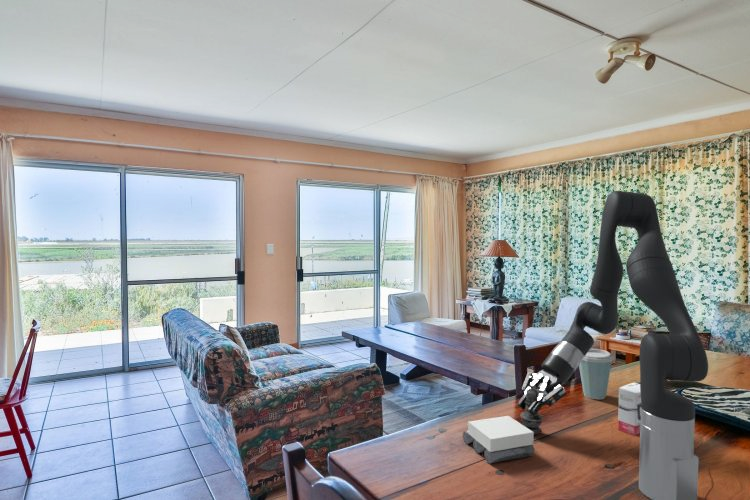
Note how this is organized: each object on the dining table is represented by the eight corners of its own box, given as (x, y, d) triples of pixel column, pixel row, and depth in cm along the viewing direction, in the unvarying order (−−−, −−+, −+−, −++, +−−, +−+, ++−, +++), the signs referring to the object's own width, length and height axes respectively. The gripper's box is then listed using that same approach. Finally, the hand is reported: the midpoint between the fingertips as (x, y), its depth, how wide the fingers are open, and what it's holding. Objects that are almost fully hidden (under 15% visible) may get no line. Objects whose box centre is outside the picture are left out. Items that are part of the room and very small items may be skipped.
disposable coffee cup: (603, 404, 138) (604, 357, 137) (570, 395, 146) (571, 350, 145) (617, 397, 144) (618, 352, 144) (584, 388, 153) (585, 345, 152)
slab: (533, 444, 105) (533, 432, 105) (490, 452, 101) (490, 439, 101) (508, 426, 114) (508, 415, 114) (467, 433, 110) (468, 421, 110)
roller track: (534, 457, 104) (534, 445, 104) (491, 465, 101) (491, 453, 100) (502, 434, 117) (502, 423, 117) (462, 440, 113) (462, 429, 113)
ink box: (635, 436, 116) (637, 392, 116) (616, 429, 120) (618, 387, 120) (651, 428, 121) (652, 386, 120) (632, 422, 125) (633, 381, 125)
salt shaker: (524, 422, 122) (525, 380, 122) (546, 428, 118) (546, 385, 118) (516, 430, 117) (517, 386, 117) (538, 436, 114) (539, 390, 113)
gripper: (537, 346, 126) (501, 392, 123) (574, 359, 113) (534, 411, 109) (552, 363, 128) (516, 409, 125) (590, 378, 115) (551, 429, 111)
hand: (525, 410), depth 117 cm, fingers closed on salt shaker, 3 cm apart
